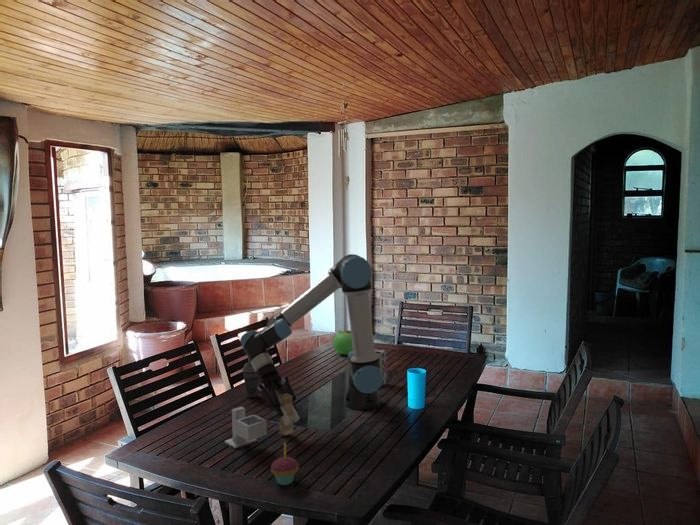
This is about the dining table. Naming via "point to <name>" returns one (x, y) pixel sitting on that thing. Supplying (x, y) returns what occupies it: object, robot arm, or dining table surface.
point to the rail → (287, 404)
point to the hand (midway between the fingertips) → (292, 421)
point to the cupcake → (284, 469)
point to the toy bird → (343, 342)
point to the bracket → (246, 428)
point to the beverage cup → (250, 380)
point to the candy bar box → (382, 363)
